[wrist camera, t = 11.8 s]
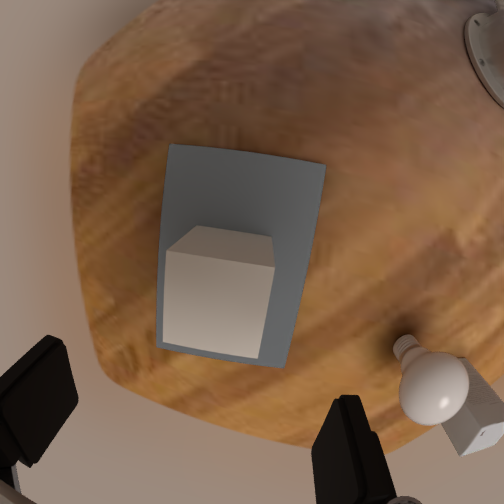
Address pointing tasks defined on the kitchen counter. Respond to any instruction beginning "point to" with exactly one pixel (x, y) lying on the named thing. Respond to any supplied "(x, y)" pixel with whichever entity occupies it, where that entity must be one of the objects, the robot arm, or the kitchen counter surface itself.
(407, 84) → the kitchen counter surface
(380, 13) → the kitchen counter surface
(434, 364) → the lightbulb
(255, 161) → the post board
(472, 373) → the skincare box
